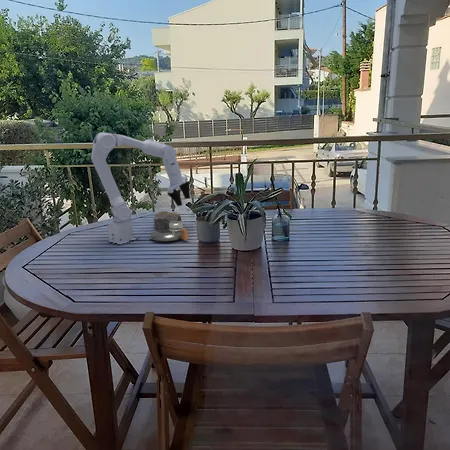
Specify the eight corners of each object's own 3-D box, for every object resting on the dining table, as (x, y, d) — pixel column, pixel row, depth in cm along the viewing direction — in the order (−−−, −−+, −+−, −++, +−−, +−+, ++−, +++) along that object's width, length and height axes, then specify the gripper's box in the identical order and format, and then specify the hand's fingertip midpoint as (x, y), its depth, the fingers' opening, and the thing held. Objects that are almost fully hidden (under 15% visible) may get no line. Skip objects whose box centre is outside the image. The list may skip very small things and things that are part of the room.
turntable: (173, 244, 155) (172, 234, 154) (143, 237, 165) (142, 228, 164) (199, 234, 166) (198, 225, 165) (169, 228, 177) (168, 219, 176)
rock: (177, 231, 177) (183, 222, 192) (176, 216, 176) (183, 209, 190) (149, 230, 178) (157, 222, 193) (148, 216, 177) (157, 209, 191)
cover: (176, 232, 165) (175, 225, 165) (165, 230, 169) (165, 223, 168) (186, 229, 170) (186, 222, 169) (176, 226, 174) (175, 220, 173)
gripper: (173, 177, 162) (184, 207, 167) (189, 165, 173) (198, 194, 178) (159, 180, 165) (170, 209, 170) (175, 167, 177) (185, 195, 182)
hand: (183, 201), depth 174 cm, fingers open, 7 cm apart
